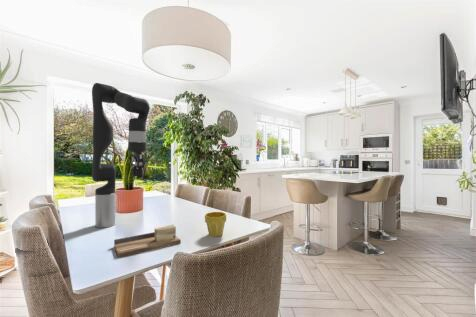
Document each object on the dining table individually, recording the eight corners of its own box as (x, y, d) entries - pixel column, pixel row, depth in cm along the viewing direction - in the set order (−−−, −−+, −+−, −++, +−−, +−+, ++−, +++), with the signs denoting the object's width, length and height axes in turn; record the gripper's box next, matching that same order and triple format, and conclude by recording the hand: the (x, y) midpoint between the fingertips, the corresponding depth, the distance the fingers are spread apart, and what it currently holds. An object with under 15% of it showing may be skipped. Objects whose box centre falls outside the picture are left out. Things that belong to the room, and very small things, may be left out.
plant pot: (200, 236, 106) (200, 215, 106) (211, 229, 116) (211, 210, 115) (219, 239, 102) (219, 218, 102) (229, 232, 111) (229, 212, 111)
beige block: (154, 239, 98) (154, 227, 98) (172, 235, 102) (172, 224, 102) (157, 242, 94) (157, 230, 94) (176, 238, 99) (176, 227, 99)
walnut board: (114, 246, 93) (114, 239, 93) (171, 235, 107) (171, 228, 107) (118, 257, 83) (118, 249, 83) (180, 243, 97) (180, 236, 97)
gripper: (125, 142, 106) (125, 176, 106) (131, 140, 95) (131, 178, 95) (142, 142, 110) (142, 175, 111) (150, 141, 99) (150, 178, 99)
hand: (137, 177), depth 103 cm, fingers open, 8 cm apart
